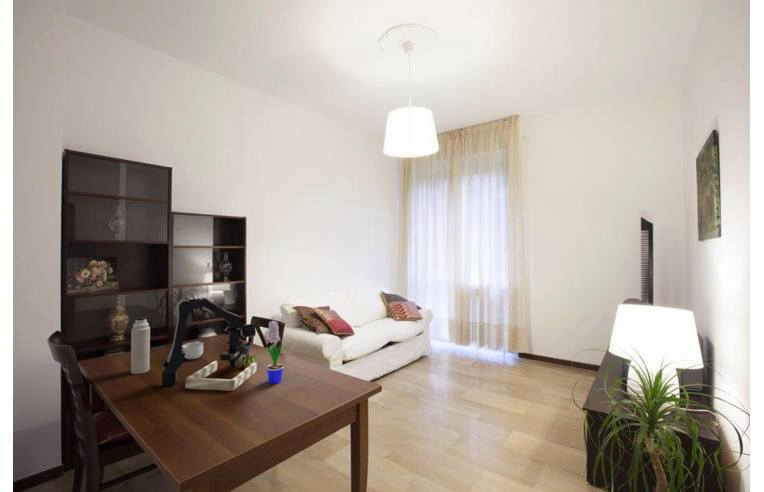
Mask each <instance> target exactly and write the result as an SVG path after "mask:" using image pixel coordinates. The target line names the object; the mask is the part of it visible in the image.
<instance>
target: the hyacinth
mask: <svg viewBox="0 0 764 492" xmlns="http://www.w3.org/2000/svg"><path fill="white" fill-rule="evenodd" d="M279 329H280V327H279V322H278V321H275V320H271V321H269V322H268V330H267V336H268V341H269V342H270V344H273V345H270V346H269V347H265V348H266V349H267V350H268V352H269V355H270V356H271V357H270V358H271V360H272V363H271V364H268V365H267V366H266V374H267V382H268V384H271V385H277V384H280V383H281V382H282V381H283V371H284V367H285V366H284V365H283V364H282V363H278V362H277V361H278V359H279V357H280V355H281V353H282V352H283V351H285V349H286V348H287V346H285V347H284V348H283V349H282V346H283V343H282V342H281V337H280V331H279ZM276 342H277V343H278V342H281V343H280V344H279V345H278V347H277V346H276V345H277V344H276ZM276 347H277V348H276Z"/></svg>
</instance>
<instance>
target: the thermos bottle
mask: <svg viewBox="0 0 764 492" xmlns="http://www.w3.org/2000/svg"><path fill="white" fill-rule="evenodd" d="M134 321H135V322H134V323H133V325H132V328H131V333H130V337H131V338H130V345H131V346H130V349H131V350H130V373H131V374H134V375H135V374H136V375H138V374H143V373H147V372H148V371H150V365H151V364H150V363H151V362H150V358H151V357H150V356H151V355H150V354H151V351H150V349H151V348H150V347H151V327H150V326H149V325H150V324H149V322H148V321H147V316H139V317H135V320H134Z"/></svg>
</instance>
